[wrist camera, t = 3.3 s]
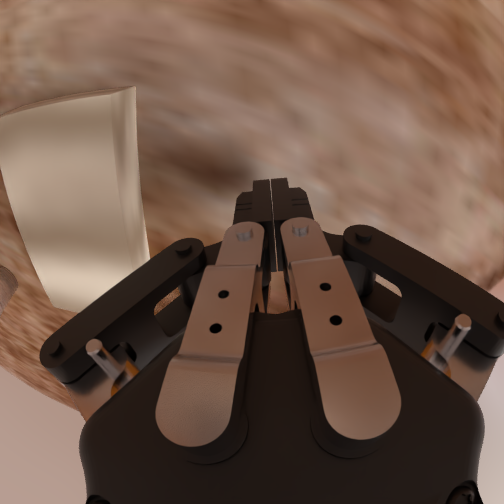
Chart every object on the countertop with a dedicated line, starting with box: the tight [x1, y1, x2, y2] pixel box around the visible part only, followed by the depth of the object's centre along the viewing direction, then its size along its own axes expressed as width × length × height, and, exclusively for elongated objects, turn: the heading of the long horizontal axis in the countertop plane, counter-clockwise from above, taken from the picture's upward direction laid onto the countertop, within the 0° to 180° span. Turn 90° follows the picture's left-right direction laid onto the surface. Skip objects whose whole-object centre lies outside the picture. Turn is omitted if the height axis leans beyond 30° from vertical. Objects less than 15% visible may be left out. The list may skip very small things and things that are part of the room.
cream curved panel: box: [0, 86, 150, 313], centre depth 14 cm, size 14×8×3 cm, turn 174°
